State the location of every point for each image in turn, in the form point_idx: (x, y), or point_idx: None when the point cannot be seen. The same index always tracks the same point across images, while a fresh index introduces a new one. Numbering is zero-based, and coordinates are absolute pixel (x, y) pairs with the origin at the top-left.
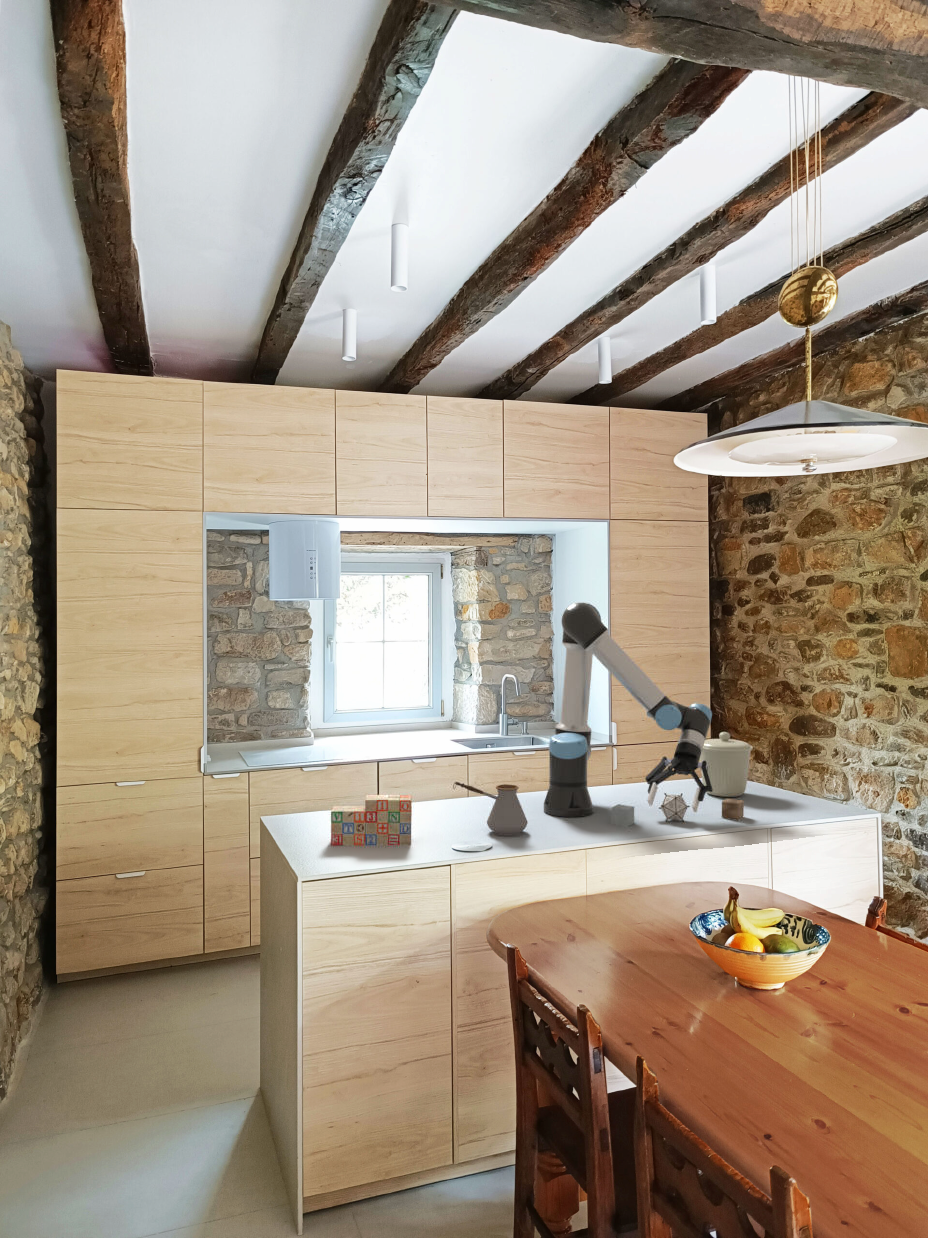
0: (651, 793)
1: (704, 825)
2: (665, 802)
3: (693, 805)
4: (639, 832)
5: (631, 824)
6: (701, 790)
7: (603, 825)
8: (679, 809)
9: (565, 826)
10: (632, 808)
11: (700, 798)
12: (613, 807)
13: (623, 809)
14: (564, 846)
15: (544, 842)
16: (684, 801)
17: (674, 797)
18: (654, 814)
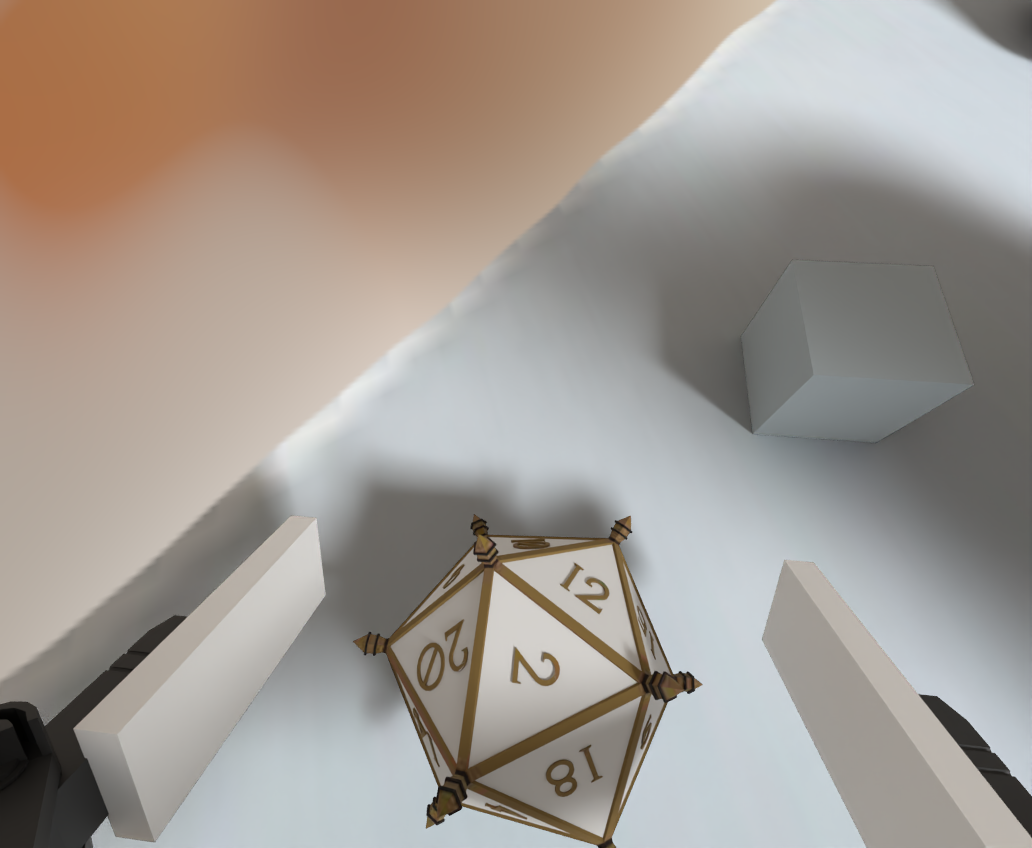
0: (841, 630)
1: None
2: (605, 569)
3: (294, 524)
4: (628, 273)
5: (748, 390)
6: (76, 739)
7: None
8: (456, 566)
9: (1014, 202)
10: (803, 347)
11: (177, 619)
12: (922, 272)
13: (825, 261)
14: (783, 10)
15: (878, 13)
16: (412, 690)
17: (510, 596)
18: (773, 833)
